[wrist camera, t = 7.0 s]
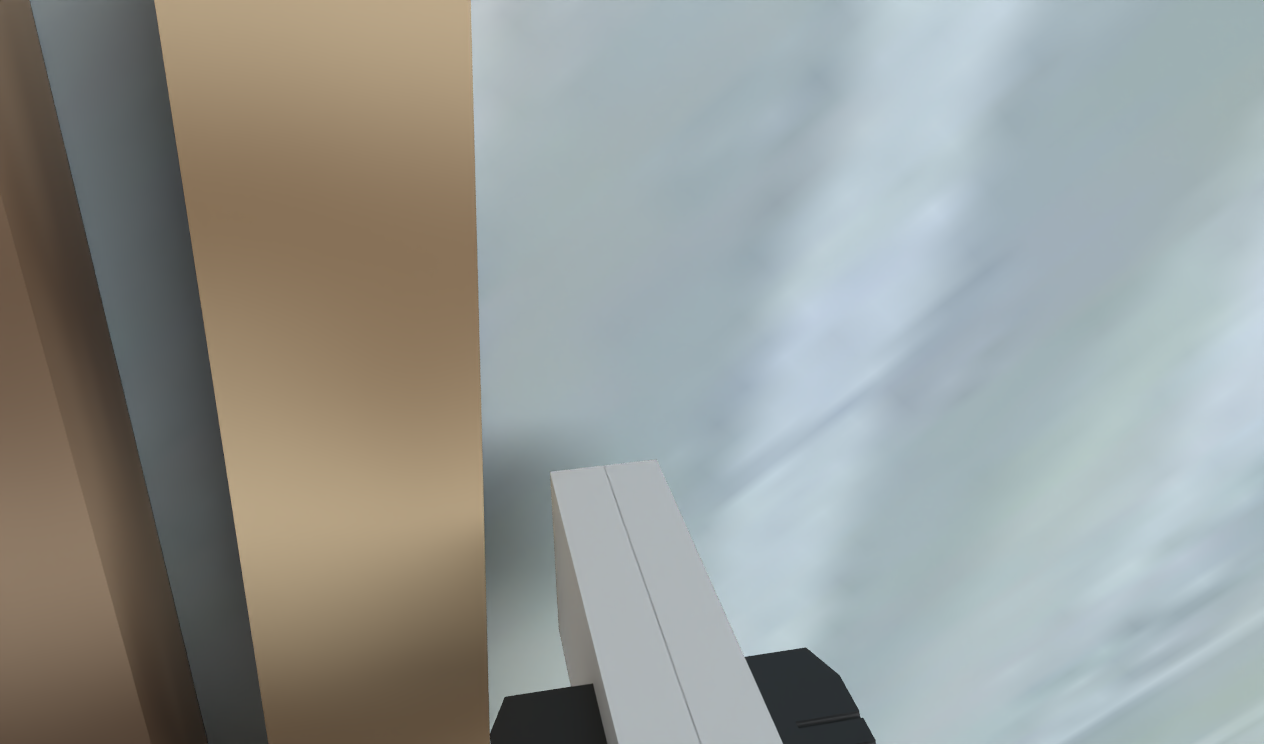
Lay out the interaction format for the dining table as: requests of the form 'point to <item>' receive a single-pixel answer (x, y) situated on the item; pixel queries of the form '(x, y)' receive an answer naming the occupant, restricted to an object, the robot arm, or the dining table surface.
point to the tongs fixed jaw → (70, 465)
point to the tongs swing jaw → (343, 350)
